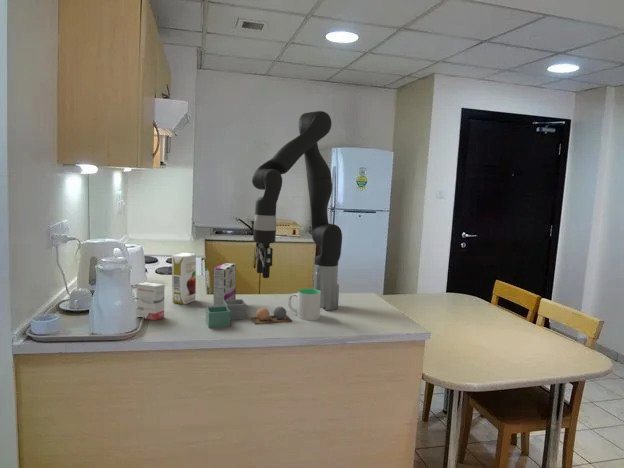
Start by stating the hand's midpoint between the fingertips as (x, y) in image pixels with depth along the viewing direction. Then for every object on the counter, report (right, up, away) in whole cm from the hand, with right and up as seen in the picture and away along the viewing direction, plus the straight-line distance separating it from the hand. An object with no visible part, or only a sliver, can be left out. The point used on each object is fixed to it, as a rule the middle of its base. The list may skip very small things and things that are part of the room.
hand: (262, 275), depth 163 cm
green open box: (-15, -17, -3) cm, 23 cm away
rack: (+3, -17, +3) cm, 17 cm away
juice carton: (-34, -13, +26) cm, 44 cm away
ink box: (-40, -15, +4) cm, 43 cm away
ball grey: (+6, -16, +4) cm, 17 cm away
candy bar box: (-17, -14, +19) cm, 29 cm away
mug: (+14, -17, +9) cm, 23 cm away
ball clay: (0, -16, +2) cm, 16 cm away
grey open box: (-11, -16, +6) cm, 20 cm away
